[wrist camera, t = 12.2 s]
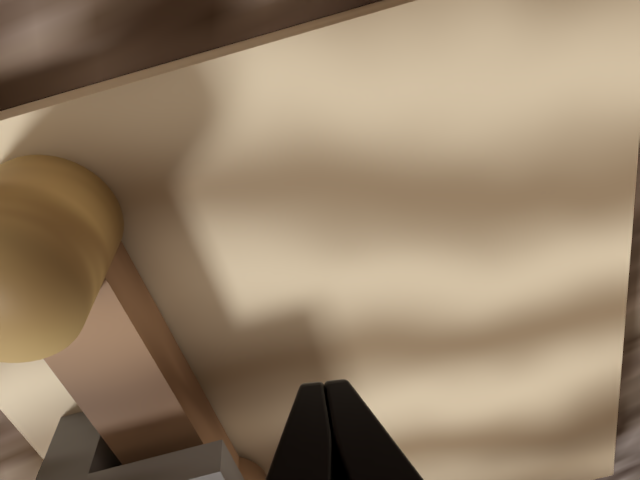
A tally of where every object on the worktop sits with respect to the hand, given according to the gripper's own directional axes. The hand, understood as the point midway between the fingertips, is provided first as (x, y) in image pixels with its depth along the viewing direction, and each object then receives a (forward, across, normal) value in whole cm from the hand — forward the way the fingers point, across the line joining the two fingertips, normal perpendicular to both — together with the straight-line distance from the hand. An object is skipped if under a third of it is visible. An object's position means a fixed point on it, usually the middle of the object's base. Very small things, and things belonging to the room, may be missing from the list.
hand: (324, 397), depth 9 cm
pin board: (+10, 0, +7) cm, 12 cm away
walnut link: (+8, +6, +7) cm, 12 cm away
